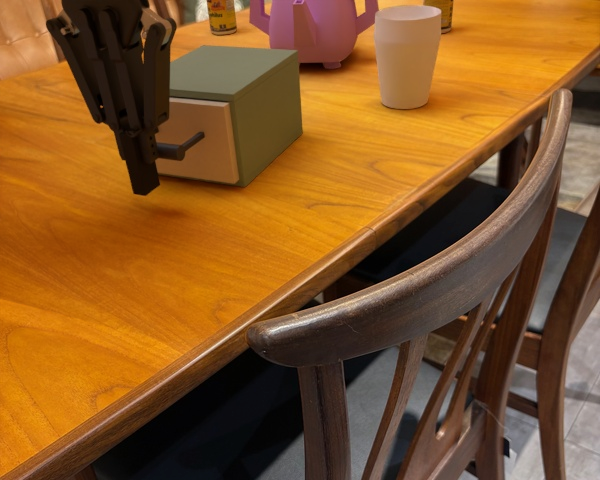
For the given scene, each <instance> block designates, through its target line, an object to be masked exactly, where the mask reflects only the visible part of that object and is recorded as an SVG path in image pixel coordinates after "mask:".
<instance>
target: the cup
mask: <svg viewBox="0 0 600 480" xmlns="http://www.w3.org/2000/svg"><path fill="white" fill-rule="evenodd" d="M373 28H374V31H373V41H374V42H373V43H374V52H375V60H376V68H377V76H378V84H379V92H380V101H381V103H382V105H383V106H385V107H388V108H390V109H395V110H413V109H417V108H421V107H423V106H424V105H426V104H427V103H428V102H429V97H430V93H431V88H432V83H433V78H434V73H435V68H436V63H437V58H438V53H439V49H440V44H441V43H440V42H441V38H442V33H441V10H440V9H438V8H436V7H431V6H424V5H423V4H406V5H405V4H404V5H394V6H388V7H384V8H381V9H379V11H377V12H376V13H375V24H374V27H373Z"/></svg>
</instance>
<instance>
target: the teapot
mask: <svg viewBox="0 0 600 480" xmlns="http://www.w3.org/2000/svg"><path fill="white" fill-rule="evenodd" d="M265 5H266V4H265V0H249V18H248V19H249V20H248V23H249V24H251V25H252V26H254V27H255V28H257V30H259V31H261V32H263V33H264V34H266V35H267V36H268V41H269V49H283V50H298V62H299V67H300V66H301V63H302V64H311V63H312V64H316V63H317V64H318V63H319V64H320V63H321V64H322V65H323V68H324V67H325V68H324V69H330V70H331V69H332V70H333V69H338V68H341V67H342V64H341V62H342V61H344V60H345V59H347V58H348V57H349V56H350V55H351V54H352V53H353V51H354V49H355V46H356V43H357V40H358V37H359V35H361V34H362V33H363V32H365V31H366V30H368V29H369V28H370V27H373V25H375V13H376V12H377V11H379V10H380V7H379V0H364V12H363V13H360V15H358V12H357V7H356V6H357V5H356V1H355V0H271V6H270V11H269V12H270V13H269V14H267V13H266V10H265V7H266V6H265Z"/></svg>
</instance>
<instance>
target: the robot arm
mask: <svg viewBox="0 0 600 480" xmlns="http://www.w3.org/2000/svg"><path fill="white" fill-rule="evenodd" d="M60 3H61V7H62V9H61V11H60V12H59V13H58V14H57V15H56V17H53V18H49V19H47V20H46V22H45V28H46V29H47V31H48V32H49V34H50V35H51V36H52V38H53V39H54V40H55V42H56V43H57V45H58V46H59V48H60V50H61V51H62V54H63V56H64V58H65V60H66V63H67V65H68V67H69V69H70V71H71V74H72V76H73V78H74V80H75V83H76V85H77V88H78V89H79V91H80V94H81V96H82V98H83V100H84V102H85V104H86V107H87V109H88V111H89V114H90V116H91V118H92V120H93V121H94V123H96V124H98V125H100V124H104V125H106V126H108V128H109V130H111V131H112V132H113V134H114V138H115V142H116V146H117V150H118V154H119V157H120V159H121V160H122V161H125V165H126V169H127V173H128V177H129V182H130V185H131V189H132V193H133V195H137V196H143V197H146V196H148V195H149V194H150V193H152V192H153V191H154V190H156V189H157V188H159V186H161V183H160V182H161V181H160V177H159V176H160V175H159V174H158V172H157V167H156V162H155V160H157V159H158V156H159V152H158V149H157V143H156V138H155V133H154V129H155V128H156V127H158V126H159V125H161V124H163V123H164V122H166V121H167V120H168V119H169V105H170V62H171V46H172V42H173V40H174V37H175V35H176V31H177V28H178V25H177V22H176V21H175V19H174V18H172V17H166V18H163V17H161V16H160V14H158V13H156V12H155V11H154V10H152V9H151V7H150V6H151V5H150V1H149V0H60ZM143 40H144V43H143Z"/></svg>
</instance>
